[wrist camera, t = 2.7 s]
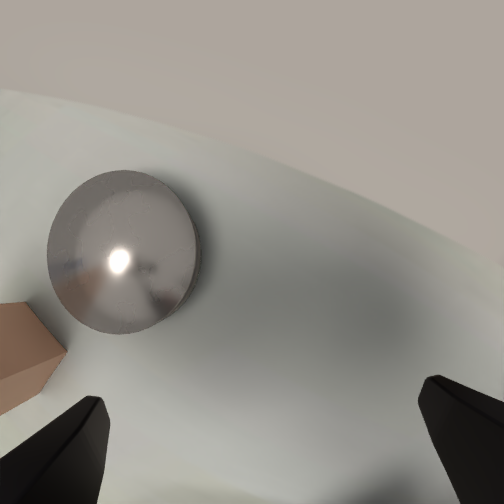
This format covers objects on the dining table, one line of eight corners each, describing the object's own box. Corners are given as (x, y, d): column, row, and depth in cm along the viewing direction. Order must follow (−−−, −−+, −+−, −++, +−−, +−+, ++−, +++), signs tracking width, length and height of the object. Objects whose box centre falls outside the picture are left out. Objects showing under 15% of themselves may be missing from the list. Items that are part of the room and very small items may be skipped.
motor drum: (140, 353, 19) (123, 367, 15) (51, 261, 19) (24, 257, 15) (231, 248, 20) (231, 242, 16) (132, 161, 20) (116, 141, 16)
